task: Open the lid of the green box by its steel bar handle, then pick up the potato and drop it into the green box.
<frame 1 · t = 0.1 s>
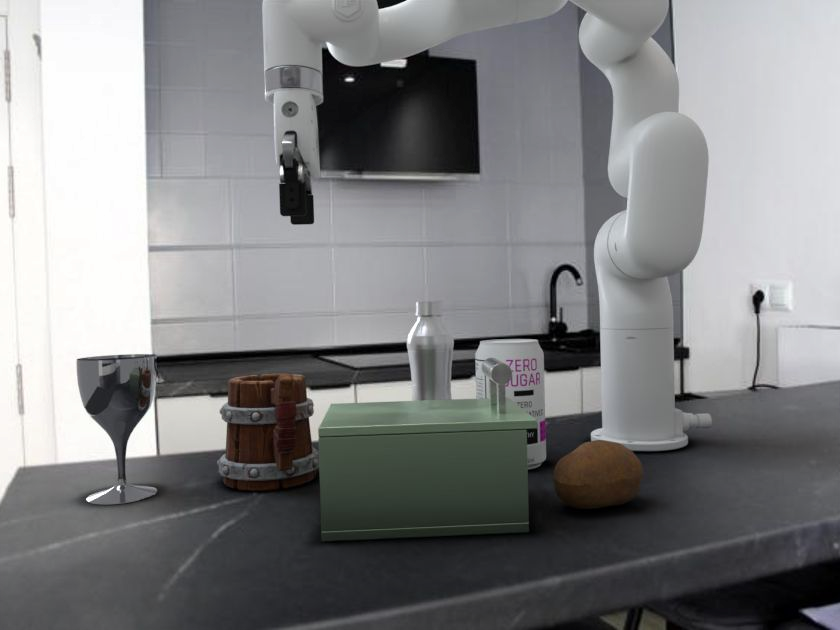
hand: (298, 220, 92), 31 cm above the countertop, tool pointing down, fingers open, 9 cm apart
wine glass: (122, 496, 76), on the countertop
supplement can: (512, 465, 85), on the countertop
potato: (597, 507, 68), on the countertop
green box: (421, 512, 67), on the countertop
silver metal bottle: (433, 452, 94), on the countertop
mug: (275, 483, 80), on the countertop
lid: (423, 390, 67), point 12 cm above the countertop, hinge at 0.0°
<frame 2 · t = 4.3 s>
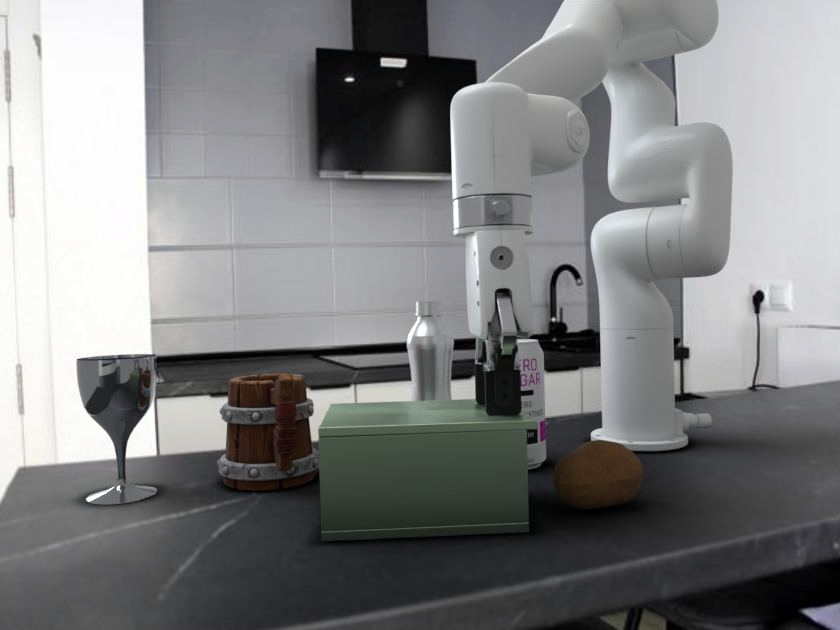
hand: (497, 406, 67), 10 cm above the countertop, tool pointing down, fingers closed on lid, 6 cm apart
lid: (423, 391, 67), point 12 cm above the countertop, hinge at -0.2°, touching gripper
everything else where it was.
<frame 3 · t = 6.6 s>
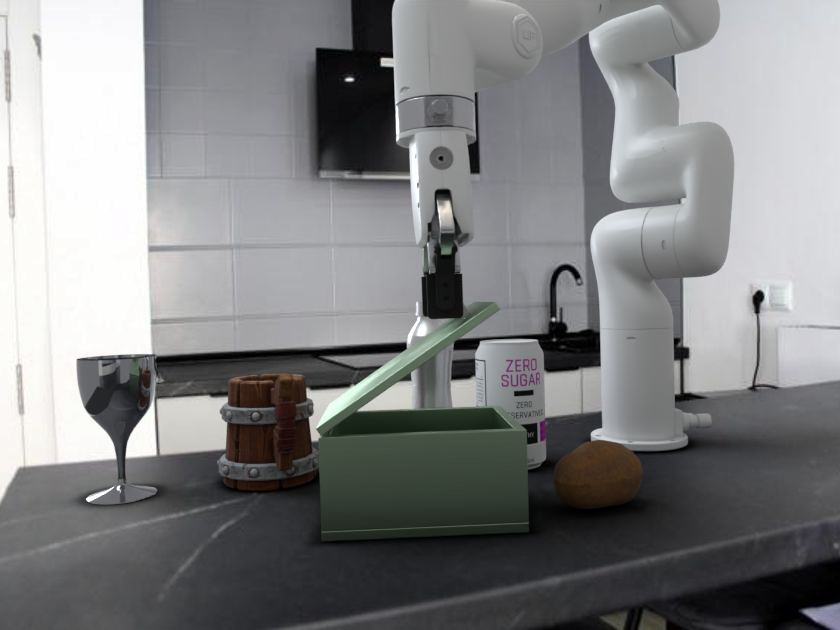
hand: (441, 315, 67), 19 cm above the countertop, tool pointing down, fingers closed on lid, 6 cm apart
lid: (392, 341, 66), point 16 cm above the countertop, hinge at 33.5°, touching gripper
everything else where it was.
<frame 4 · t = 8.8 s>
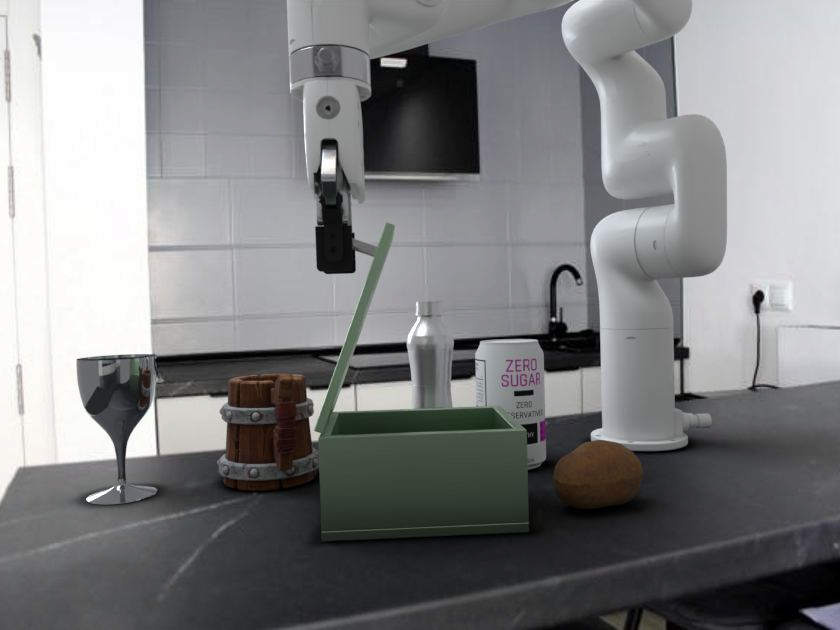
hand: (337, 270, 66), 23 cm above the countertop, tool pointing down, fingers closed on lid, 6 cm apart
lid: (334, 317, 66), point 19 cm above the countertop, hinge at 69.2°, touching gripper
everything else where it was.
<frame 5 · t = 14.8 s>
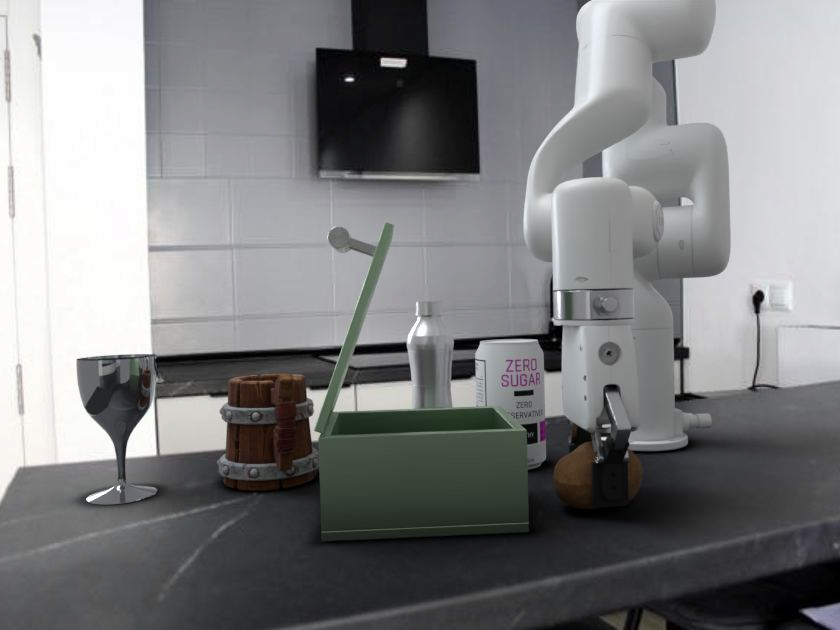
hand: (597, 492, 68), 1 cm above the countertop, tool pointing down, fingers closed on potato, 7 cm apart
potato: (597, 507, 68), on the countertop, touching gripper
lid: (333, 317, 66), point 19 cm above the countertop, hinge at 69.5°
everything else where it was.
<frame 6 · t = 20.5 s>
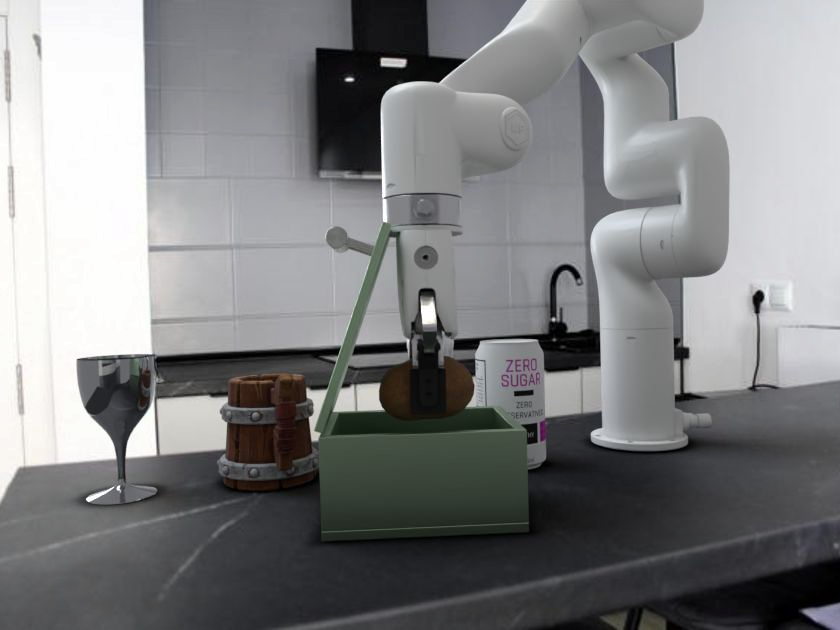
hand: (426, 405, 67), 10 cm above the countertop, tool pointing down, fingers closed on potato, 7 cm apart
potato: (426, 421, 67), point 9 cm above the countertop, touching gripper
lid: (332, 317, 66), point 19 cm above the countertop, hinge at 70.2°, touching arm
everything else where it was.
when the fingers open (10 cm above the countertop, at t = 20.6 s): potato drops 8 cm, resting on green box.
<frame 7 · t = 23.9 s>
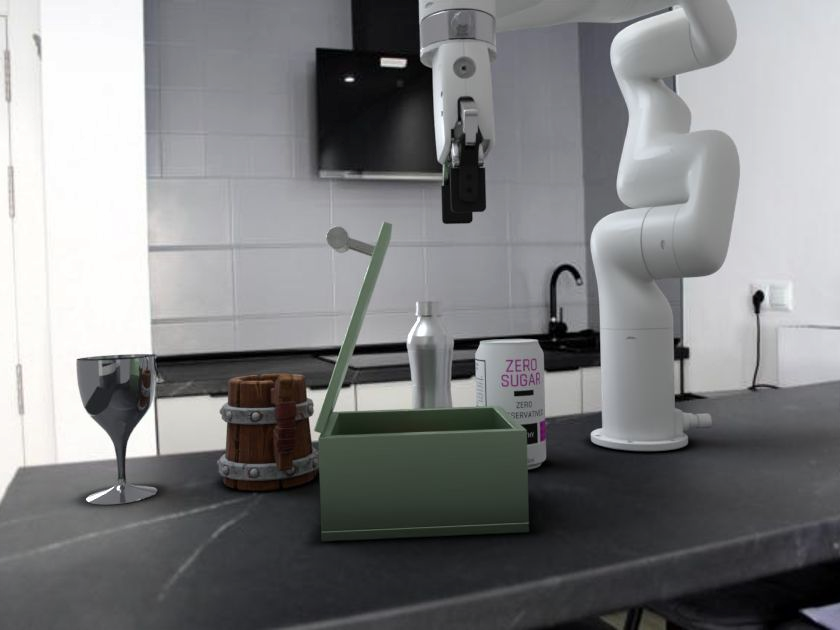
hand: (462, 217, 69), 28 cm above the countertop, tool pointing down, fingers open, 9 cm apart
potato: (418, 506, 67), point 1 cm above the countertop, touching green box
lid: (333, 317, 66), point 19 cm above the countertop, hinge at 70.0°
everything else where it was.
at the end: lid at +70° (first picture: +0°); potato inside the target area in the green box (0.3 cm from its centre), point 0.7 cm above the green box's base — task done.
